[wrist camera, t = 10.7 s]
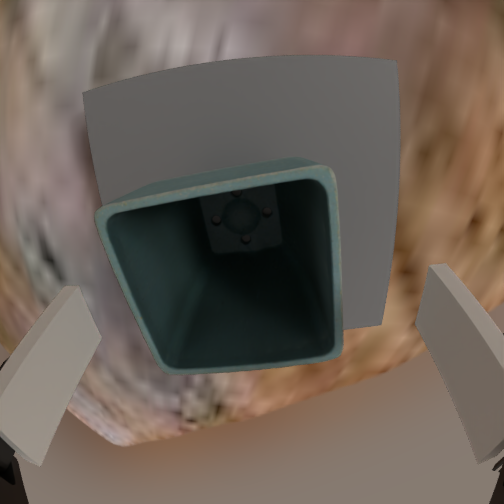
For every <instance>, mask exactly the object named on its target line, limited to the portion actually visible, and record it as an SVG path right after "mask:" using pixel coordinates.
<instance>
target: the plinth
mask: <svg viewBox="0 0 504 504" xmlns="http://www.w3.org/2000/svg"><path fill="white" fill-rule="evenodd" d="M83 102H84V110H85V117H86V124H87V131H88V137H89V143H90V149H91V154H92V160H93V165H94V170H95V175H96V180H97V185H98V189H99V194H100V198H101V202H102V206H103V205H105V204H107V203H109V202H111V201H113V200H115V199H117V198H120V197H122V196H124V195H126V194H128V193H130V192H132V191H135V190H137V189H139V188H141V187H143V186H146V185H148V184H151V183H153V182H157V181H161V180H166V179H171V178H176V177H181V176H186V175H191V174H196V173H201V172H206V171H211V170H217V169H222V168H227V167H233V166H239V165H244V164H250V163H256V162H261V161H267V160H274V159H279V158H285V157H302V158H305V159H308V160H311V161H314V162H317V163H320V164H322V165H325V166H328V167H330V168H331V169H332V170H333V172H334V174H335V177H336V181H337V189H338V203H339V220H340V237H341V238H340V239H341V259H342V263H341V267H342V300H343V330H346V329H355V328H363V327H371V326H378V325H381V324H382V319H383V314H384V309H385V303H386V298H387V292H388V286H389V279H390V272H391V265H392V258H393V250H394V241H395V232H396V222H397V210H398V196H399V177H400V99H399V81H398V68H397V60H389V59H380V58H369V57H355V56H335V55H287V56H266V57H253V58H241V59H232V60H223V61H216V62H208V63H202V64H195V65H189V66H184V67H178V68H173V69H168V70H163V71H158V72H154V73H150V74H145V75H141V76H137V77H133V78H129V79H125V80H122V81H118V82H115V83H111V84H108V85H104V86H101V87H98V88H95V89H92V90H89V91H86V92H83ZM232 192H233V194H234V195H239V194H240V193H241V190H236V191H232ZM270 213H271V209H270V208H264V209H263V214H264V215H270ZM213 221H214V222H215V223H219V222H220V217H219V216H214V217H213ZM242 239H243V241H245V242H246V241H249V240H250V236H248V235H245V236H243V237H242ZM143 338H144V336H143Z"/></svg>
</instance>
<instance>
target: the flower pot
mask: <svg viewBox="0 0 504 504" xmlns="http://www.w3.org/2000/svg"><path fill="white" fill-rule="evenodd" d="M236 190H241V193H240V194H239V195H234V194H233V192H232V191H236ZM264 208H270V209H271V213H270V215H264V214H263V209H264ZM214 216H219V217H220V222H219V223H215V222H214V221H213V217H214ZM94 220H95V224H96V227H97V230H98V233H99V236H100V239H101V241H102V244H103V246H104V249H105V251H106V254H107V257H108V259H109V262H110V264H111V266H112V269H113V271H114V273H115V275H116V278H117V280H118V283H119V285H120V287H121V289H122V291H123V293H124V297H125V298H126V300H127V303H128V305H129V307H130V309H131V311H132V313H133V315H134V317H135V320H136V321H137V323H138V326H139V328H140V330H141V332H142V335H143V336H144V339H145V341H146V343H147V345H148V347H149V349H150V351H151V353H152V355H153V357H154V360H155V361H156V363H157V365H158V366H159V367H160V368H161V369H162V371H163V372H165V373H166V374H169V375H195V374H208V373H224V372H225V373H228V372H238V371H251V370H262V369H270V368H282V367H289V366H295V365H303V364H312V363H319V362H323V361H328V360H332V359H335V358H337V357H339V356H340V355H341V353H342V350H343V345H344V344H343V343H344V341H343V300H342V267H341V263H342V259H341V239H340V238H341V237H340V220H339V203H338V189H337V181H336V177H335V174H334V172H333V170H332V169H331V168H330V167H328V166H325V165H322V164H320V163H317V162H314V161H311V160H308V159H305V158H302V157H285V158H279V159H274V160H267V161H261V162H256V163H250V164H244V165H239V166H233V167H227V168H222V169H217V170H211V171H206V172H201V173H196V174H191V175H186V176H181V177H176V178H171V179H166V180H161V181H157V182H153V183H151V184H148V185H146V186H143V187H141V188H139V189H137V190H135V191H132V192H130V193H128V194H126V195H124V196H122V197H120V198H117V199H115V200H113V201H111V202H109V203H107V204H105V205H103V206H101V207H100V208H99V209H98V210H97V211H96V212H95V215H94ZM245 235H248V236H250V240H249V241H246V242H245V241H243V239H242V237H243V236H245Z"/></svg>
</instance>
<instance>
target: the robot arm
mask: <svg viewBox="0 0 504 504" xmlns="http://www.w3.org/2000/svg"><path fill="white" fill-rule="evenodd" d="M415 325H416V327H417V329H418V331H419V333H420V334H421V336H422V338H423V340H424V342H425V344H426V346H427V348H428V350H429V352H430V354H431V356H432V358H433V360H434V362H435V364H436V366H437V368H438V370H439V372H440V374H441V376H442V378H443V380H444V383H445V385H446V387H447V389H448V392H449V394H450V396H451V398H452V400H453V403H454V405H455V407H456V410H457V412H458V414H459V417H460V419H461V422H462V424H463V426H464V429H465V431H466V434H467V437H468V439H469V442H470V445H471V447H472V450H473V452H474V455H475V458H476V461H477V464H480V463H482V462H484V461H486V460H489V459H491V458H493V457H495V456H497V455H498V454H499V453H500V452H501V451H502V450H503V449H504V333H503V334H502V333H501V331H500V330H499V328H498V327H497V326H496V325H495V323H494V322H493V320H492V319H491V318H490V316H489V315H488V314H487V312H486V311H485V310H484V308H483V307H482V306H481V305H480V303H479V302H478V301H477V300H476V298H475V297H474V296H473V295H472V293H471V292H470V291H469V290H468V289H467V287H466V286H465V285H464V284H463V283H462V281H461V280H460V279H459V278H458V277H457V276H456V274H455V273H454V272H453V271H452V270H451V269H450V267H449V266H448V265H447V264H446V263H444V264H434V265H429V268H428V273H427V278H426V282H425V286H424V291H423V295H422V299H421V303H420V307H419V311H418V314H417V318H416V322H415ZM101 339H102V337H101V335H100V333H99V331H98V329H97V326H96V324H95V322H94V320H93V318H92V315H91V313H90V311H89V309H88V306H87V304H86V302H85V299H84V297H83V294H82V292H81V289H80V287H79V286H64V287H63V289H62V290H61V291H60V292H59V293H58V295H57V296H56V297H55V298H54V299H53V301H52V302H51V303H50V304H49V306H48V307H47V308H46V309H45V311H44V312H43V313H42V314H41V316H40V317H39V318H38V319H37V321H36V322H35V323H34V325H33V326H32V327H31V329H30V330H29V331H28V333H27V334H26V335H25V337H24V338H23V339H22V341H21V342H20V343H19V345H18V346H17V347H16V349H15V350H14V352H13V353H12V355H11V356H10V357H9V358H8V359H7V360H5V361H4V362H3V364H2V365H1V367H0V504H29V502H28V499H27V496H26V492H25V489H24V485H23V481H22V477H21V472H20V468H19V464H18V461H17V459H16V458H15V457H14V456H13V455H14V453H15V451H16V452H17V453H18V454H19V455H20V456H21V457H23V458H24V459H25V460H26V461H29V462H31V463H33V464H36V465H38V466H40V467H41V465H42V462H43V460H44V457H45V455H46V452H47V450H48V447H49V445H50V443H51V441H52V438H53V436H54V434H55V431H56V429H57V427H58V425H59V423H60V420H61V418H62V416H63V414H64V412H65V410H66V408H67V406H68V404H69V401H70V399H71V397H72V395H73V393H74V391H75V389H76V387H77V385H78V383H79V381H80V379H81V377H82V375H83V373H84V371H85V369H86V367H87V366H88V364H89V362H90V360H91V358H92V356H93V354H94V352H95V350H96V349H97V347H98V345H99V343H100V341H101ZM502 464H503V465H502ZM501 465H502V468H501V469H500V470H499V472H500V475H499V478H498V481H497V484H496V487H495V490H494V492H493V495H492V498H491V501H490V503H489V504H504V457H503V458H502V459H501V460H500V461H498V462H497V463H496V464H495V466H494V468H493V469H492V470H493V471H495V470H496V469H497V468H499V467H500V466H501Z"/></svg>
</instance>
